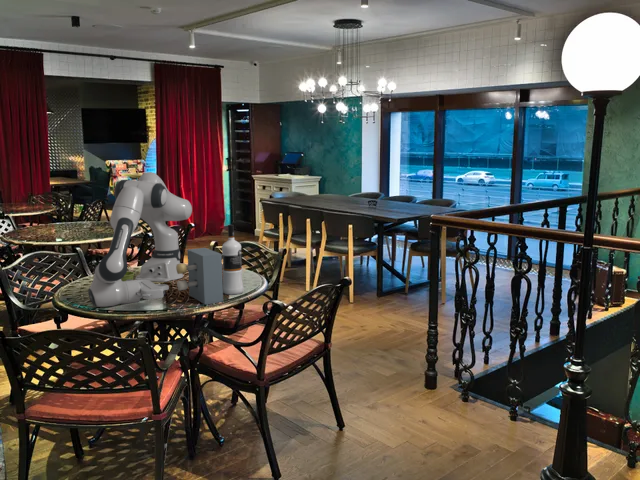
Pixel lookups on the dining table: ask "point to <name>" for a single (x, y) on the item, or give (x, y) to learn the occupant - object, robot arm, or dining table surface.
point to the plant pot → (128, 276)
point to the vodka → (232, 265)
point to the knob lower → (185, 284)
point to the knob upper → (184, 268)
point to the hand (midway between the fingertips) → (167, 286)
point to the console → (206, 275)
